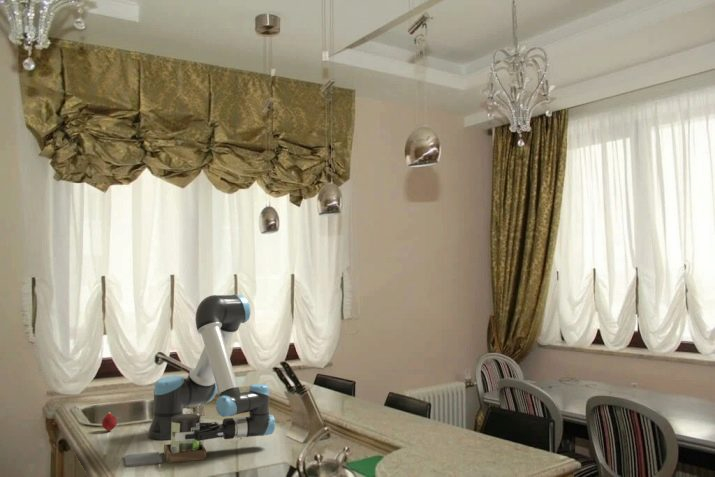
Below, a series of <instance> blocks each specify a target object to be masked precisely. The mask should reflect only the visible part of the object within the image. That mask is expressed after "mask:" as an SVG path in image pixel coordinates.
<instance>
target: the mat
mask: <svg viewBox="0 0 715 477" xmlns="http://www.w3.org/2000/svg"><path fill="white" fill-rule="evenodd" d="M123 457H124V458H123V459H124V463H125V467H126V468H129V467H128V466H131V467H139V466H138V465H140V466H147V465H157V463H159V464H162V463H163V459H162V456H161V454H160V451H152V452H142V453H140V452H139V453H133V454H132V453H131V454H124V455H123Z"/></svg>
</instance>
